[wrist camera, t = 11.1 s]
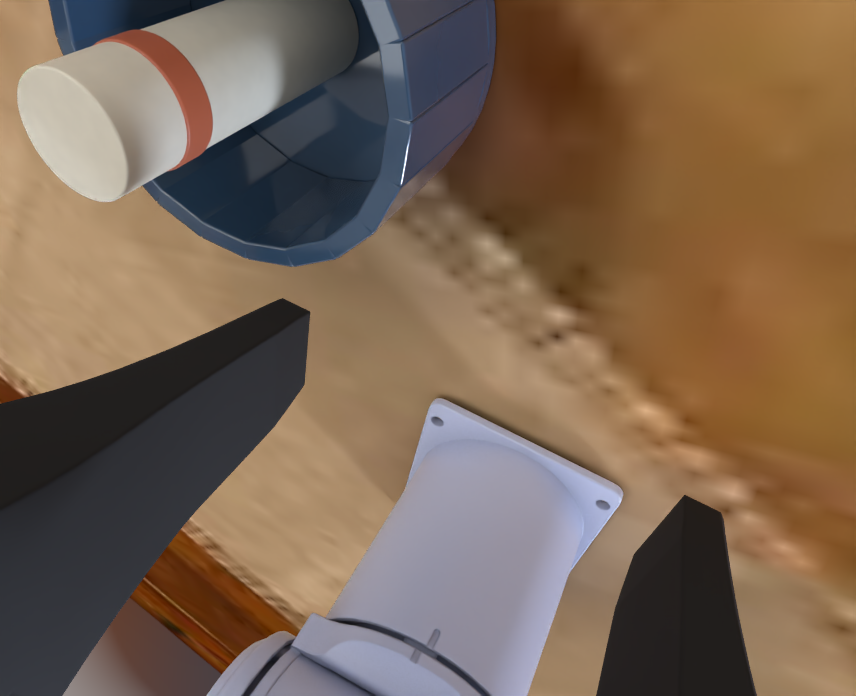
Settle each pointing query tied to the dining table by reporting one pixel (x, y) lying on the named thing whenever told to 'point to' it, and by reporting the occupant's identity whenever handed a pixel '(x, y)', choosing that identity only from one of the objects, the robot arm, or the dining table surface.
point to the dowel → (178, 88)
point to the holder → (324, 128)
